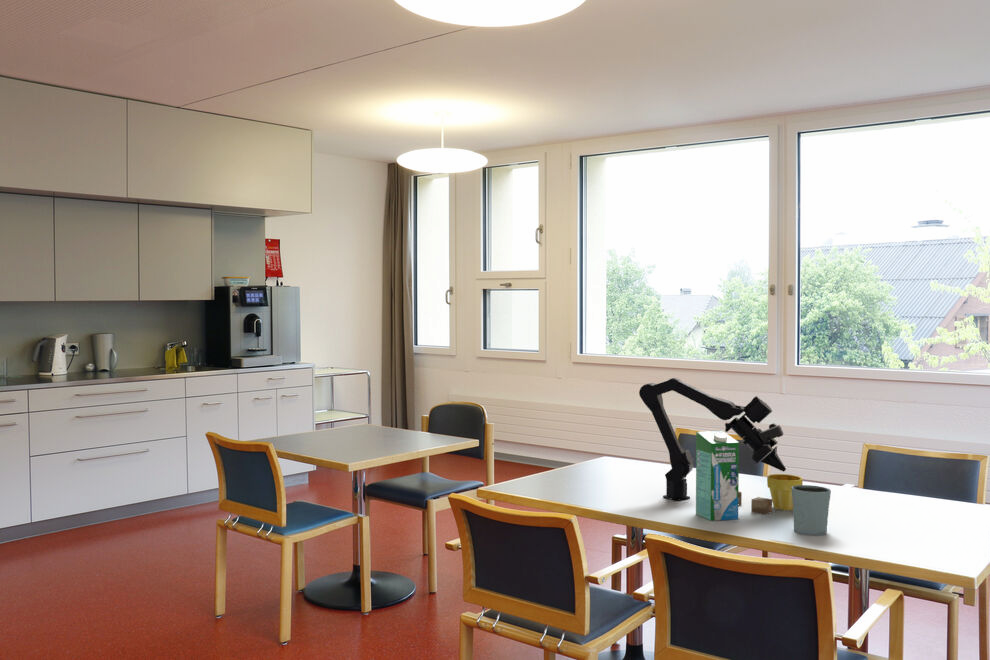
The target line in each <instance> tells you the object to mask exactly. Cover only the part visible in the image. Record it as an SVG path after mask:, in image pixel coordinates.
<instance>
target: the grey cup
mask: <svg viewBox="0 0 990 660" xmlns="http://www.w3.org/2000/svg"><path fill="white" fill-rule="evenodd" d="M791 489H792V503H793V510H792V517H793V530H794V532H795V533H798V534H800V535H806V536H824V535H826V534H827V532H828V522H829V521H828V518H829V511H830V510H829V509H830V500H831V491H832V490H831V489H830V488H828V487H824V486H818V485H810V484H809V485H807V484H803V485H796V486H792V487H791Z"/></svg>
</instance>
